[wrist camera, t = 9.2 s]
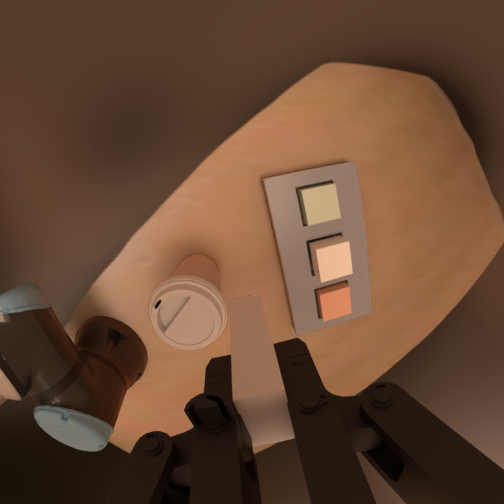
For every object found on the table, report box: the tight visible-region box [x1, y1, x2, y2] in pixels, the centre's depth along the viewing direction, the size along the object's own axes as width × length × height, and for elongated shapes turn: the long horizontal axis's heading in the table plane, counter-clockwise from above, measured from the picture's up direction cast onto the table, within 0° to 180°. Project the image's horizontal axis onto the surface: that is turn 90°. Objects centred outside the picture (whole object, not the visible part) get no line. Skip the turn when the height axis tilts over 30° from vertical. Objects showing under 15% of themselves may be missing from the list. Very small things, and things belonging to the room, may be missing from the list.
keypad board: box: [261, 161, 371, 336], centre depth 43 cm, size 14×26×3 cm, turn 13°
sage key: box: [296, 182, 341, 226], centre depth 39 cm, size 5×5×4 cm
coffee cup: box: [148, 254, 228, 350], centre depth 36 cm, size 10×10×15 cm
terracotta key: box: [314, 281, 352, 322], centre depth 44 cm, size 5×5×4 cm
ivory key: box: [309, 235, 353, 283], centre depth 39 cm, size 5×5×4 cm
